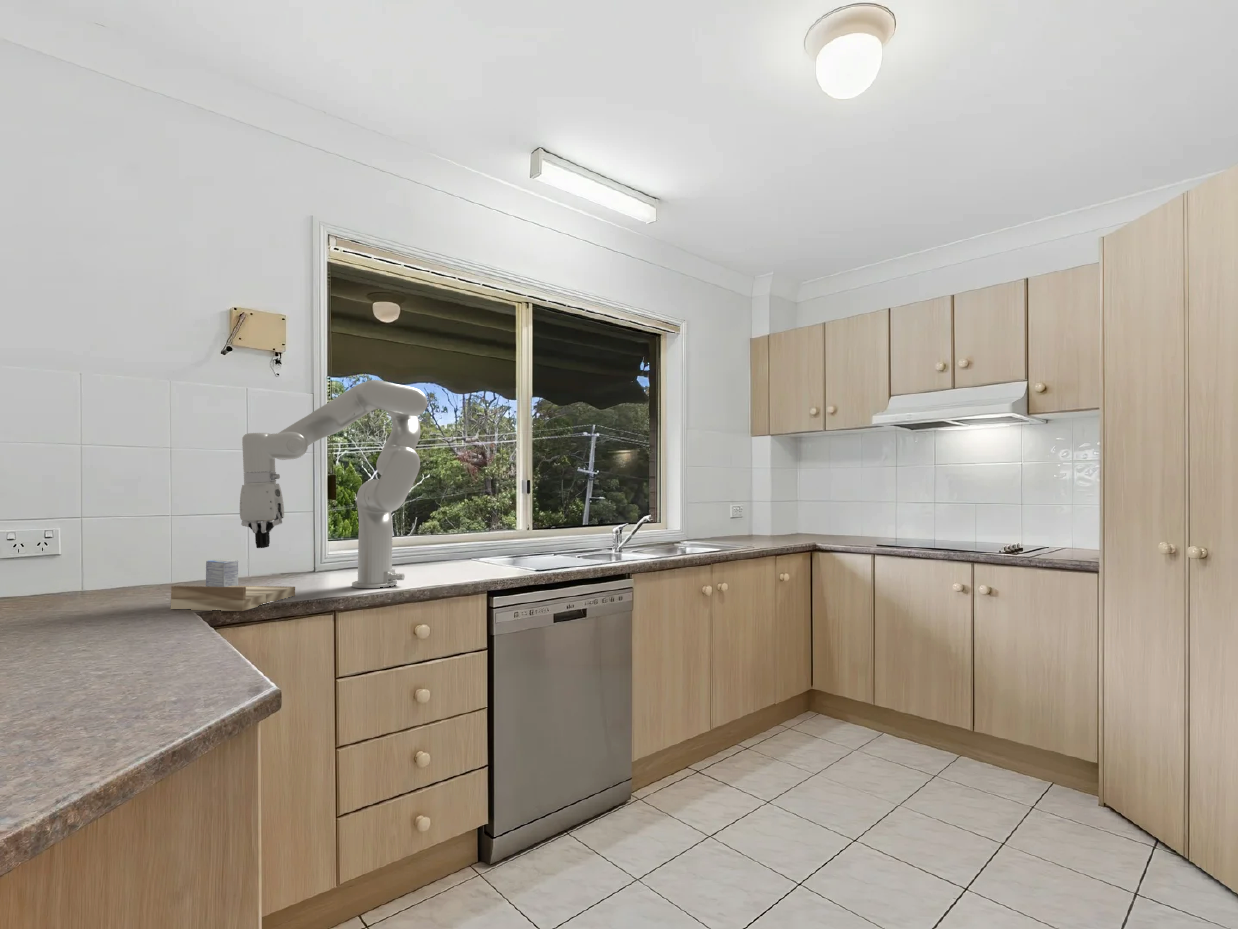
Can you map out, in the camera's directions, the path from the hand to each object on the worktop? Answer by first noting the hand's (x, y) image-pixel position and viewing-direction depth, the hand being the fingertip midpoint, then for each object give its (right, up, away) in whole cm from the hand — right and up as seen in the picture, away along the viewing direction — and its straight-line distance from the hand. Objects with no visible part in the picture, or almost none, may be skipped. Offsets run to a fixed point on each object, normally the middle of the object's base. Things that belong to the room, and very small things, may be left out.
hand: (262, 547), depth 178 cm
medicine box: (-16, -14, +9) cm, 23 cm away
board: (-2, -13, -9) cm, 16 cm away
